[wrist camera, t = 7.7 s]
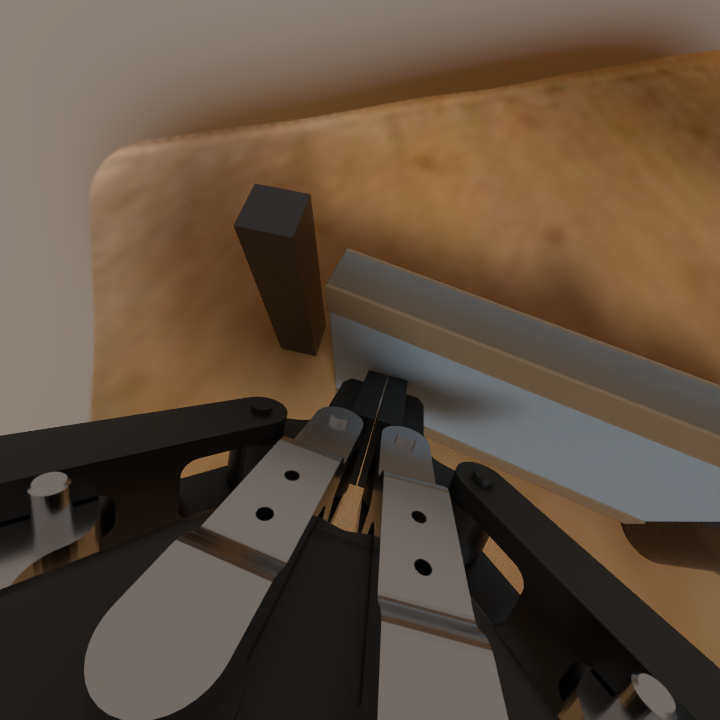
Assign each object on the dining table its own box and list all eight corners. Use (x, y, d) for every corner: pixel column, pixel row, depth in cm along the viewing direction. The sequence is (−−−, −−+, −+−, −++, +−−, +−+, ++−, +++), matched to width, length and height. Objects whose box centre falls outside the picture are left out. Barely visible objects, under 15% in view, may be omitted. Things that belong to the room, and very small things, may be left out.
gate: (627, 492, 16) (928, 462, 8) (624, 523, 16) (943, 526, 7) (348, 373, 18) (347, 247, 10) (336, 397, 18) (324, 285, 9)
